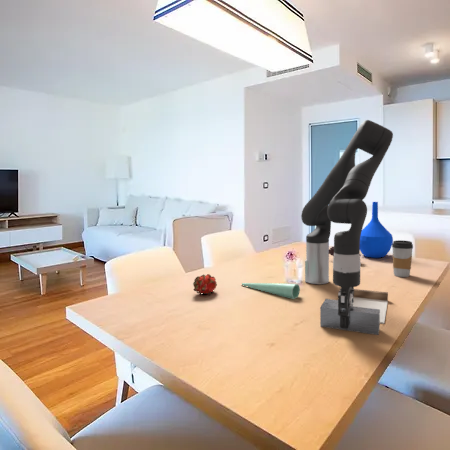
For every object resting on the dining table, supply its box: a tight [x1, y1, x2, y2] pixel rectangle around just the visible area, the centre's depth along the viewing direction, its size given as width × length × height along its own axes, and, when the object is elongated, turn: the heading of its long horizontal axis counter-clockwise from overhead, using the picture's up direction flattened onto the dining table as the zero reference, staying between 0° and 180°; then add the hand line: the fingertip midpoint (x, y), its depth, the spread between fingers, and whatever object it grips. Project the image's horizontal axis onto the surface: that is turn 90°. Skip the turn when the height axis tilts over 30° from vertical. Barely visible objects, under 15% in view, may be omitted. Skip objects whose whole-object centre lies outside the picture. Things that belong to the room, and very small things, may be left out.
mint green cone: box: [241, 282, 301, 300], centre depth 144 cm, size 5×6×27 cm
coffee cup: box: [391, 239, 414, 278], centre depth 160 cm, size 8×8×15 cm
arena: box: [336, 288, 389, 301], centre depth 122 cm, size 15×22×3 cm, turn 154°
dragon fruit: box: [192, 273, 218, 295], centre depth 143 cm, size 8×8×12 cm
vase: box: [360, 201, 394, 259], centre depth 199 cm, size 18×18×30 cm
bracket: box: [319, 298, 381, 336], centre depth 108 cm, size 16×8×6 cm, turn 64°
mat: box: [353, 297, 389, 324], centre depth 121 cm, size 14×21×1 cm, turn 154°
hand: (346, 323), depth 107 cm, fingers open, 6 cm apart
